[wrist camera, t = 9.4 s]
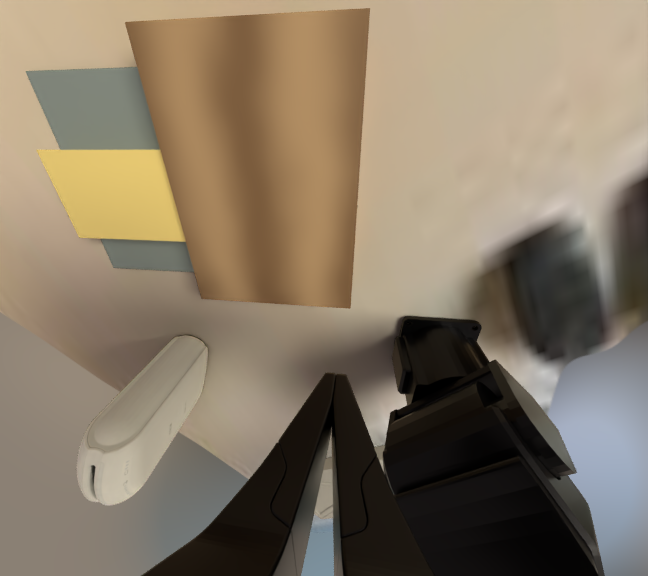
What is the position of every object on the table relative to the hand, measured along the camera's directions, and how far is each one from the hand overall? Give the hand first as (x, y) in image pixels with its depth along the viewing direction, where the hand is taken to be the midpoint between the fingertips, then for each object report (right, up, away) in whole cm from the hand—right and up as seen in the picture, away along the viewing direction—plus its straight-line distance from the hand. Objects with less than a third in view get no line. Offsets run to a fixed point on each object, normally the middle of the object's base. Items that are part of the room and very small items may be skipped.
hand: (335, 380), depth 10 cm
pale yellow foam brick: (-15, +11, +9) cm, 21 cm away
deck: (-4, +11, +8) cm, 14 cm away
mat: (-15, +12, +9) cm, 21 cm away
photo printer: (-16, -5, +19) cm, 25 cm away
